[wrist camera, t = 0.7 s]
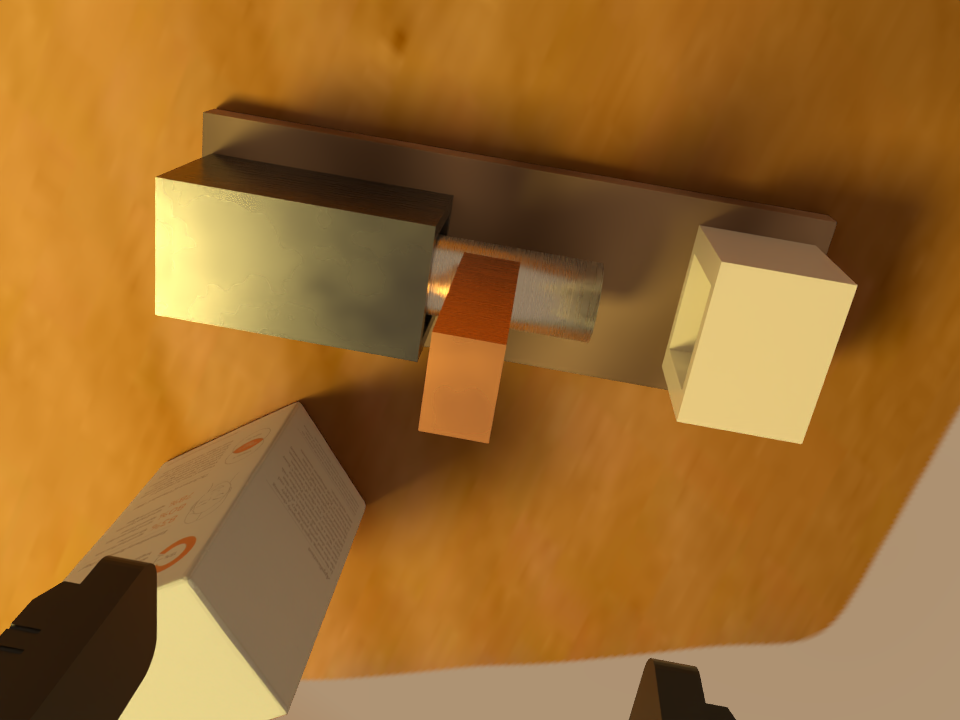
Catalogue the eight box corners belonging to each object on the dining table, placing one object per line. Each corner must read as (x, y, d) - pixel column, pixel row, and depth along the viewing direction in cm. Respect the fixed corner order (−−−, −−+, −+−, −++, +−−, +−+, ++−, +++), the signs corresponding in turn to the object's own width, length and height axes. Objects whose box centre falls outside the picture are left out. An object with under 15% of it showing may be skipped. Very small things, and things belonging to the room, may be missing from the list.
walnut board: (209, 296, 37) (198, 305, 36) (215, 108, 33) (203, 112, 32) (768, 396, 36) (775, 409, 35) (828, 215, 33) (837, 222, 32)
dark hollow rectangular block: (209, 273, 35) (155, 314, 30) (212, 153, 33) (155, 176, 28) (436, 314, 35) (417, 361, 30) (453, 195, 33) (435, 226, 28)
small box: (234, 562, 42) (104, 782, 30) (162, 461, 40) (-9, 654, 28) (372, 505, 40) (291, 718, 28) (302, 396, 38) (183, 574, 26)
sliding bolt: (239, 264, 34) (103, 373, 24) (242, 190, 32) (100, 272, 22) (585, 326, 33) (595, 462, 23) (601, 253, 32) (618, 364, 22)
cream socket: (661, 366, 35) (676, 421, 30) (699, 225, 32) (721, 261, 28) (770, 385, 35) (801, 444, 30) (815, 245, 32) (857, 285, 28)
